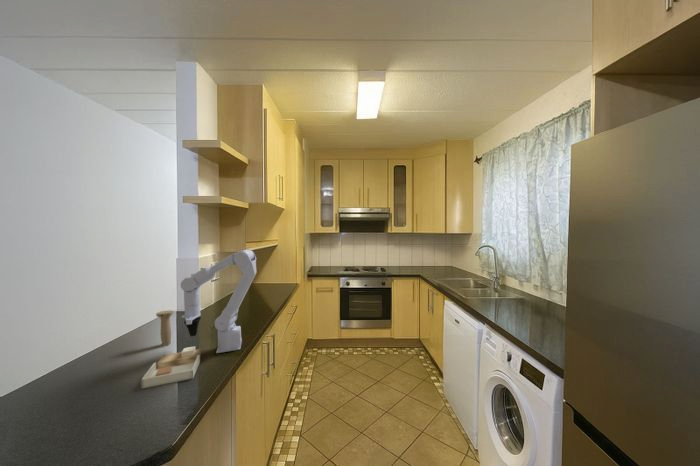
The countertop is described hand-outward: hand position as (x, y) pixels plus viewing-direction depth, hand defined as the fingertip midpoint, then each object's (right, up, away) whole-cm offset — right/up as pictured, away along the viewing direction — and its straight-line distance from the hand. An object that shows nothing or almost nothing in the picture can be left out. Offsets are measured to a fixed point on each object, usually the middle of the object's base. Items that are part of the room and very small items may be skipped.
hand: (193, 335), depth 113 cm
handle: (-17, -7, +7) cm, 19 cm away
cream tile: (+3, -4, -9) cm, 10 cm away
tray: (+4, -7, -19) cm, 20 cm away
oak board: (+1, -7, -10) cm, 12 cm away
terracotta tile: (+2, -4, -20) cm, 21 cm away
